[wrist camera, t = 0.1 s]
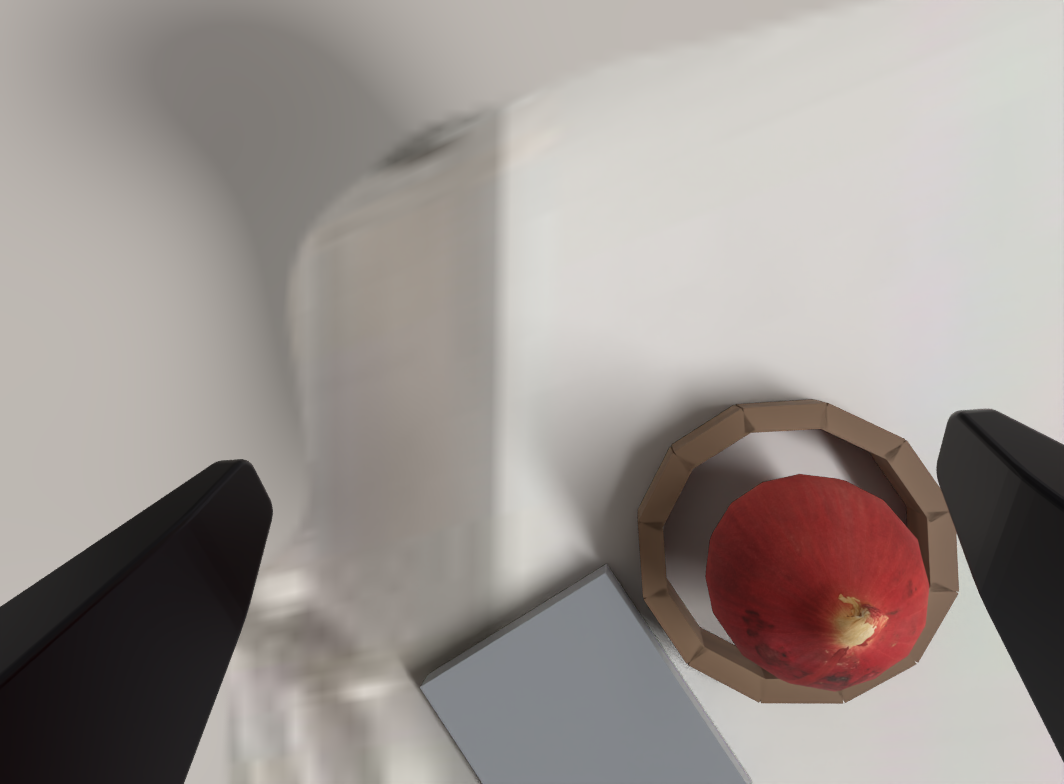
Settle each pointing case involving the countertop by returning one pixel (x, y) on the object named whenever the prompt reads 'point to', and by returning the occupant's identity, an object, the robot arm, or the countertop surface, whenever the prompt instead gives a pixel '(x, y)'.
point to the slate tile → (579, 699)
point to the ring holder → (736, 422)
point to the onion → (817, 581)
